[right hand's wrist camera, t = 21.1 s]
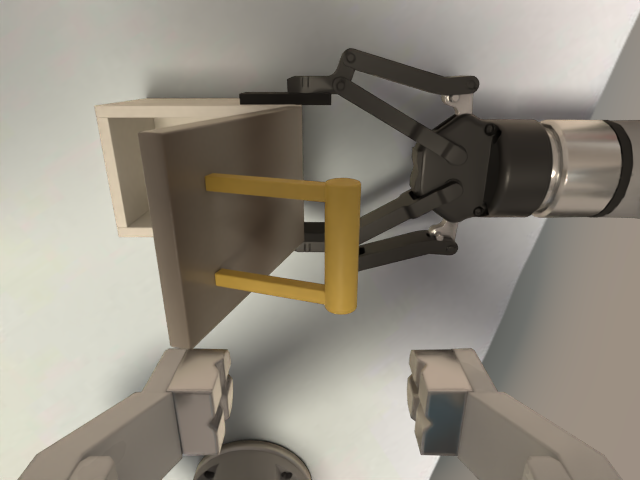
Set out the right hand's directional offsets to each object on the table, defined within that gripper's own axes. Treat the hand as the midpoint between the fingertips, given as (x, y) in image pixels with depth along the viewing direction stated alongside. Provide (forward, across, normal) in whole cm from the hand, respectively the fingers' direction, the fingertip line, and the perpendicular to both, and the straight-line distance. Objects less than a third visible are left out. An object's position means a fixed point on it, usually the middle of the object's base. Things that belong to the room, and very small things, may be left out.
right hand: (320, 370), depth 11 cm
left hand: (+24, -6, 0) cm, 25 cm away
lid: (+15, -5, 0) cm, 15 cm away
